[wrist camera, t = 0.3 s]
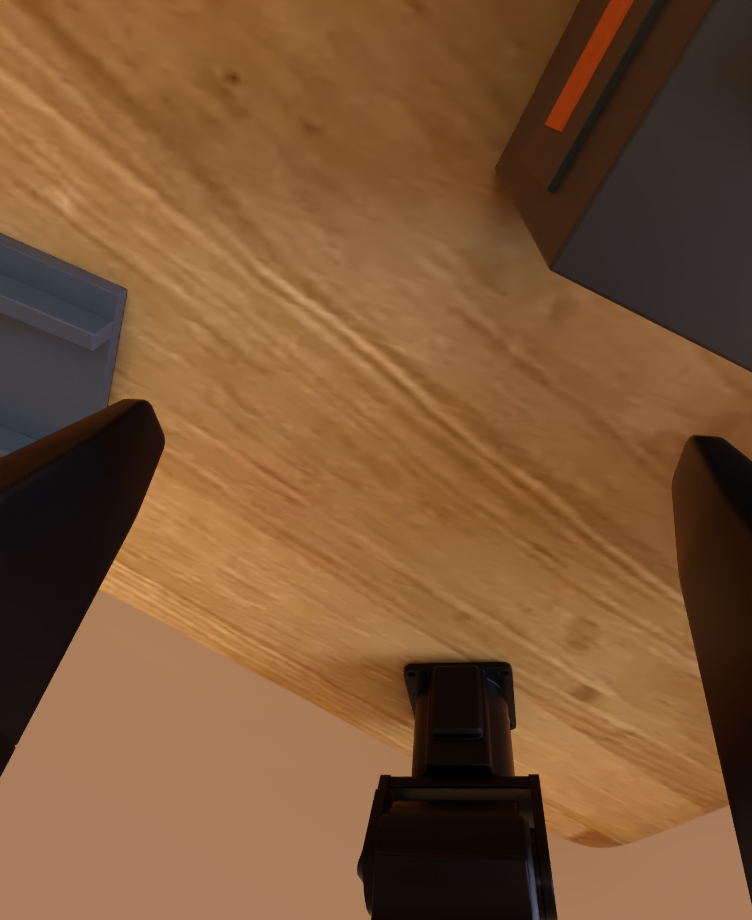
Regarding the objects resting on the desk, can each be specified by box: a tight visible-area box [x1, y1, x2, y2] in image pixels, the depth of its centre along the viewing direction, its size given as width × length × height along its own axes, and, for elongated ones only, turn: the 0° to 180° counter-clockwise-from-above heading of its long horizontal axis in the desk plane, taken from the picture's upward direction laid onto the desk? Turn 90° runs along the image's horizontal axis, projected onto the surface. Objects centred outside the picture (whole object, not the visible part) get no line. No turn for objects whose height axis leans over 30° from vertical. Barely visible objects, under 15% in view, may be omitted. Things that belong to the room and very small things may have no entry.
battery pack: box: [496, 0, 752, 372], centre depth 11 cm, size 5×9×13 cm, turn 156°
